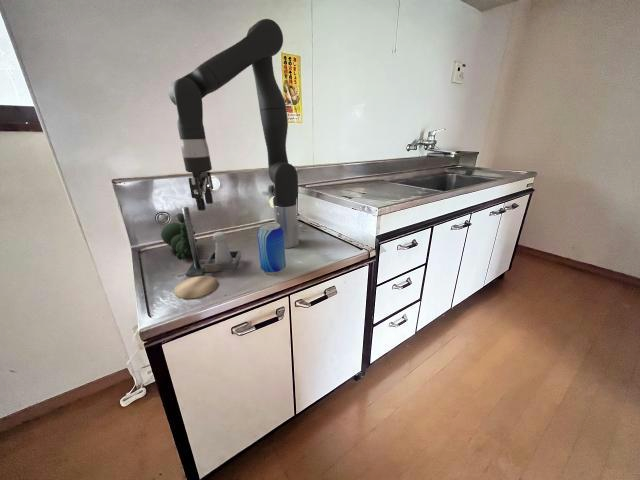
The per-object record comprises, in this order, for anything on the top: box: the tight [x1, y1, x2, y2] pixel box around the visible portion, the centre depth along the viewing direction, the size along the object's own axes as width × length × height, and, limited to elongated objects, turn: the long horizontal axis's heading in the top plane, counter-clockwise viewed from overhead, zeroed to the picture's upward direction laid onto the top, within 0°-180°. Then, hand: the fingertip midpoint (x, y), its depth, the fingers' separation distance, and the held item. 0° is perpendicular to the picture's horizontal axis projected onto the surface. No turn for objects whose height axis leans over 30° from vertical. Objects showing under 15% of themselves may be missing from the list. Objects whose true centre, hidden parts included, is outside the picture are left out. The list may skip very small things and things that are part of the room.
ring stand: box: [181, 206, 242, 277], centre depth 87 cm, size 16×10×22 cm, turn 97°
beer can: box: [256, 222, 287, 276], centre depth 87 cm, size 8×8×16 cm
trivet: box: [173, 275, 219, 300], centre depth 80 cm, size 12×12×1 cm
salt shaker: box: [212, 231, 234, 263], centre depth 89 cm, size 6×6×13 cm
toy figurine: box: [160, 212, 199, 260], centre depth 100 cm, size 9×19×25 cm
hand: (206, 206), depth 86 cm, fingers open, 8 cm apart
